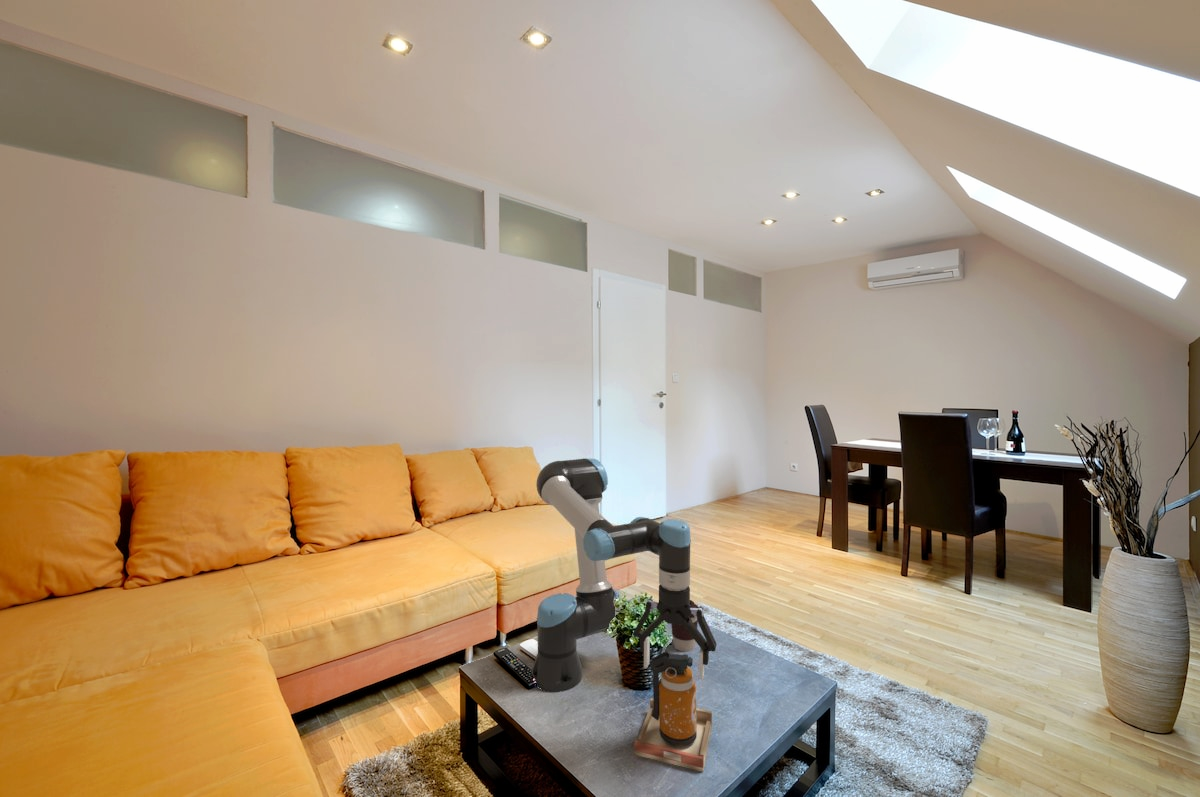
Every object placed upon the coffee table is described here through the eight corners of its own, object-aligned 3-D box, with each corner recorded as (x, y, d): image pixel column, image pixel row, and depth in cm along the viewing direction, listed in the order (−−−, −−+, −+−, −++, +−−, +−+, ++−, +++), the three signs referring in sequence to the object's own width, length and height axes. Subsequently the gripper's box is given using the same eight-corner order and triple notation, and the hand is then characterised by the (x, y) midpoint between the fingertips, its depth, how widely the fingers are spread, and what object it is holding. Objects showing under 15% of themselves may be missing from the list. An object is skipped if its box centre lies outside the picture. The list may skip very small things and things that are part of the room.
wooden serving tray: (634, 755, 113) (634, 739, 113) (650, 713, 129) (650, 698, 129) (703, 773, 108) (703, 756, 108) (712, 726, 123) (711, 711, 123)
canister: (696, 751, 113) (694, 666, 113) (648, 744, 115) (647, 661, 115) (697, 726, 122) (696, 647, 122) (653, 720, 124) (652, 642, 124)
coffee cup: (701, 642, 165) (701, 598, 165) (696, 657, 156) (696, 611, 155) (673, 637, 168) (672, 594, 168) (666, 651, 159) (666, 606, 159)
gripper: (621, 583, 119) (620, 668, 119) (725, 599, 110) (724, 690, 111) (629, 572, 126) (629, 652, 126) (728, 586, 117) (727, 672, 118)
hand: (673, 670), depth 118 cm, fingers open, 13 cm apart
